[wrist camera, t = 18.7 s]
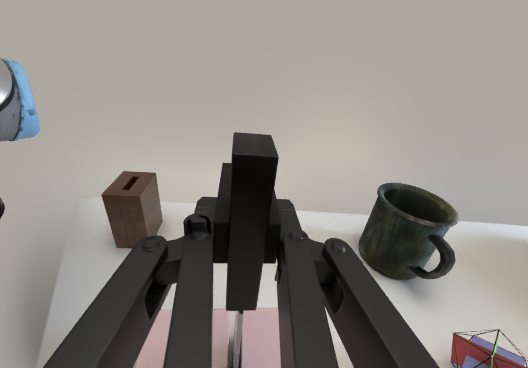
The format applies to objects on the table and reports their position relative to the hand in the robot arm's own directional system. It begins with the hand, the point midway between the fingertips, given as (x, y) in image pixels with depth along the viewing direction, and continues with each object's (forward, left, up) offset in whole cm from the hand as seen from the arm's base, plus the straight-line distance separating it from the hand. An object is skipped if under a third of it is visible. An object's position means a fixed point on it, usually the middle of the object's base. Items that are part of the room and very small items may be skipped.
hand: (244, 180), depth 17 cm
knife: (+4, -4, -18) cm, 19 cm away
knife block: (-23, 0, -21) cm, 31 cm away
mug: (+11, +27, -21) cm, 36 cm away
